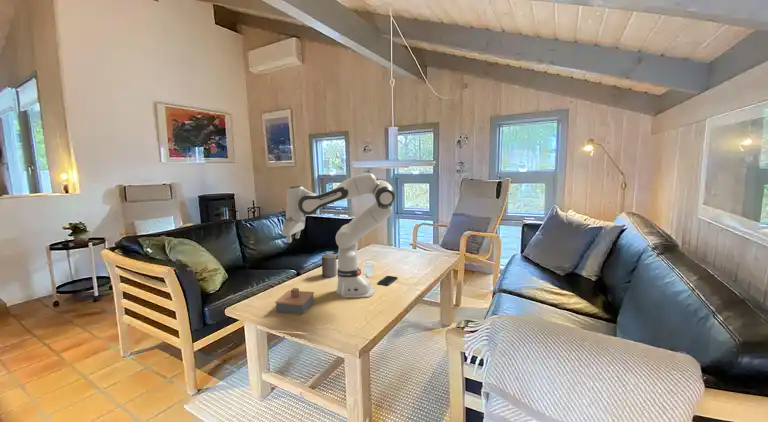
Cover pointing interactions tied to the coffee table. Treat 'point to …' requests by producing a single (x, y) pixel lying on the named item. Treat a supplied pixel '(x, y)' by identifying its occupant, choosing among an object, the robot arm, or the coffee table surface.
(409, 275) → the coffee table surface
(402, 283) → the coffee table surface
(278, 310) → the storage box
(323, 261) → the pillar candle
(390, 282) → the phone
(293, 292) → the lid
